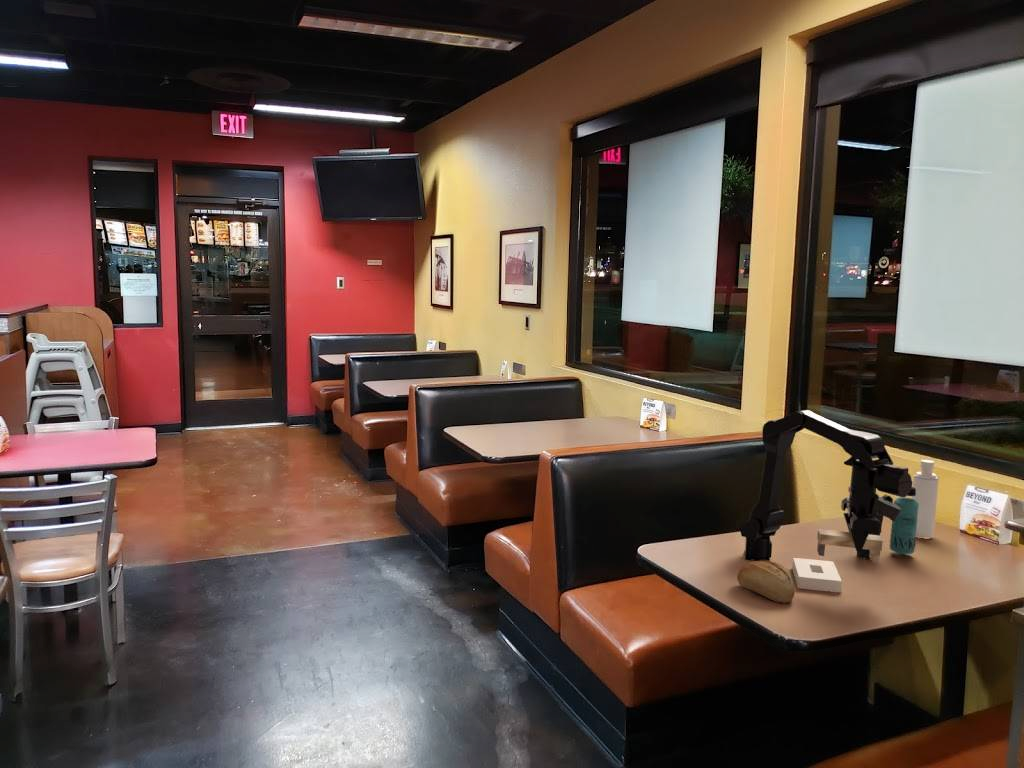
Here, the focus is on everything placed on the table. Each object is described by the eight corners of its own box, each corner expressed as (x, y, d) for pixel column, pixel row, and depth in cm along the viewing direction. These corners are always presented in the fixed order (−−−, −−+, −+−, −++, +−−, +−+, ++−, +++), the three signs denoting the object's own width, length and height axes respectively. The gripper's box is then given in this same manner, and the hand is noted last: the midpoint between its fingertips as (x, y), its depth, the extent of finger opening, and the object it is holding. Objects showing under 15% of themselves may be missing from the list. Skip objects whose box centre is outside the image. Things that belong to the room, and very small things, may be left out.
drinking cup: (879, 553, 216) (885, 485, 213) (883, 562, 209) (888, 492, 206) (850, 550, 218) (855, 482, 216) (852, 559, 211) (858, 489, 208)
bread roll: (750, 580, 195) (752, 550, 194) (804, 599, 183) (806, 567, 182) (727, 588, 189) (729, 558, 188) (781, 609, 177) (783, 576, 176)
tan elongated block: (818, 555, 186) (820, 534, 185) (816, 550, 190) (818, 528, 189) (880, 562, 182) (882, 540, 181) (877, 557, 186) (879, 535, 185)
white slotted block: (798, 588, 190) (798, 576, 189) (792, 568, 203) (793, 557, 203) (841, 592, 187) (841, 581, 187) (832, 572, 201) (833, 561, 200)
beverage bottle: (883, 551, 218) (889, 483, 215) (906, 551, 218) (911, 483, 216) (897, 559, 211) (903, 489, 209) (919, 559, 212) (926, 489, 209)
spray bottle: (922, 540, 228) (929, 459, 225) (903, 533, 234) (910, 454, 231) (938, 538, 231) (945, 457, 227) (919, 531, 237) (926, 452, 234)
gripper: (909, 500, 172) (901, 566, 174) (891, 479, 190) (885, 539, 192) (855, 495, 175) (849, 560, 177) (843, 475, 193) (838, 534, 195)
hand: (857, 548), depth 185 cm, fingers closed on tan elongated block, 4 cm apart
